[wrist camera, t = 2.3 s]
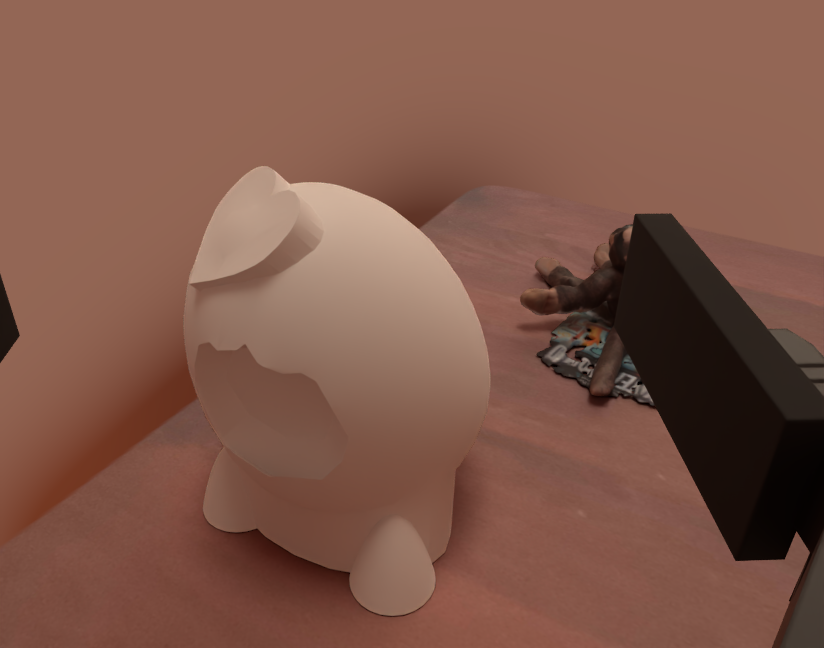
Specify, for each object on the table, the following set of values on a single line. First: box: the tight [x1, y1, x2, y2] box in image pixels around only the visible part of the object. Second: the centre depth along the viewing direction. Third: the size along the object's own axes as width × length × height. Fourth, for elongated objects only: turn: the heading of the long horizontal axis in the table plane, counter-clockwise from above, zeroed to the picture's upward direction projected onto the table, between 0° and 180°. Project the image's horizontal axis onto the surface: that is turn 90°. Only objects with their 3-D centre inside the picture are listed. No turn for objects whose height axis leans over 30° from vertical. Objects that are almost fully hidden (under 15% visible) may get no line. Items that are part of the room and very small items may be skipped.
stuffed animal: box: [520, 224, 655, 406], centre depth 44 cm, size 12×10×12 cm
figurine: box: [183, 166, 490, 616], centre depth 29 cm, size 11×11×15 cm
